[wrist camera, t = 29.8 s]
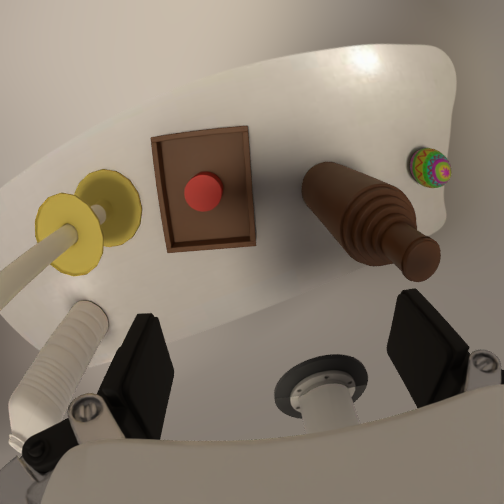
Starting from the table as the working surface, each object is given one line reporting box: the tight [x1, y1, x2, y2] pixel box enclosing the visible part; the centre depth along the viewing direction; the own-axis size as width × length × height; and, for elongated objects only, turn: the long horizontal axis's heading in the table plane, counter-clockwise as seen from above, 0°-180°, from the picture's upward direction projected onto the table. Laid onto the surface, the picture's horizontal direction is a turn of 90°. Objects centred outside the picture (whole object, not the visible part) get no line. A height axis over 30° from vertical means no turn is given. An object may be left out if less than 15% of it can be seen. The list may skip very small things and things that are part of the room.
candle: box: [0, 169, 142, 311], centre depth 21 cm, size 10×10×27 cm
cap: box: [184, 172, 224, 212], centre depth 31 cm, size 4×4×3 cm
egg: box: [410, 148, 451, 188], centre depth 30 cm, size 5×5×6 cm
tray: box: [151, 126, 256, 253], centre depth 32 cm, size 13×10×2 cm
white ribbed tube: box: [9, 301, 108, 453], centre depth 27 cm, size 9×6×25 cm
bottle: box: [302, 162, 441, 282], centre depth 24 cm, size 6×6×20 cm
